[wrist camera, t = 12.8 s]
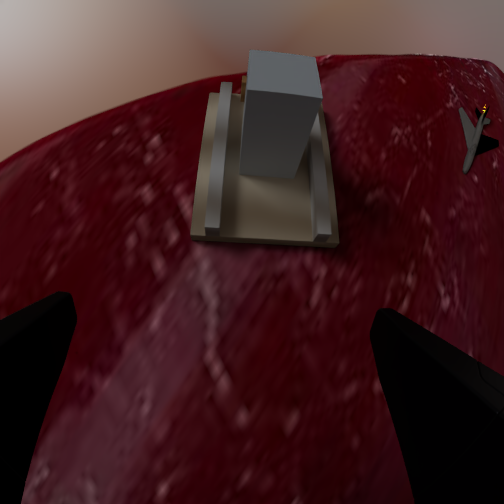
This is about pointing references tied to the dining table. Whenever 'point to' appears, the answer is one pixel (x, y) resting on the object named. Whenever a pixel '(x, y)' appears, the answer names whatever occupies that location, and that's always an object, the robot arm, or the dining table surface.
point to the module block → (278, 112)
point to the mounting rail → (260, 186)
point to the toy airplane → (476, 137)
